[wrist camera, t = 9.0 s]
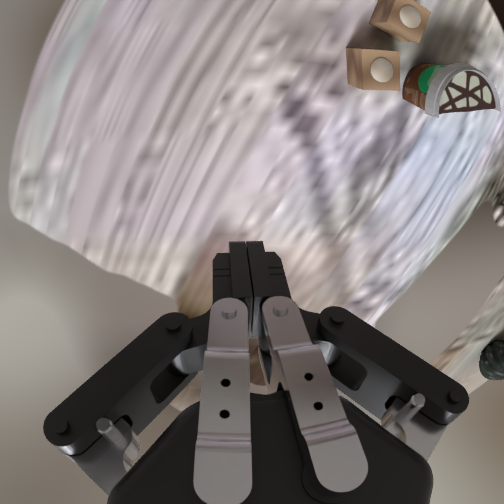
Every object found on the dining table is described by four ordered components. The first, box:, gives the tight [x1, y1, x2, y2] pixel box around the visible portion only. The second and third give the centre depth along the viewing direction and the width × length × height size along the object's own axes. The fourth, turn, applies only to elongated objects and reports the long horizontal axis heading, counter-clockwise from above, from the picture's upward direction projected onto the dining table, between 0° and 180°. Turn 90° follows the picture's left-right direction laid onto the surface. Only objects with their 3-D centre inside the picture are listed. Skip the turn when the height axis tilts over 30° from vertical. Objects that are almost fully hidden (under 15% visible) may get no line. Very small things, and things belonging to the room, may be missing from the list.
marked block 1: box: [346, 48, 400, 91], centre depth 32 cm, size 5×5×5 cm
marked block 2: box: [369, 0, 431, 43], centre depth 28 cm, size 5×5×5 cm
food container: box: [402, 63, 501, 118], centre depth 31 cm, size 12×6×10 cm, turn 105°
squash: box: [479, 340, 504, 380], centre depth 78 cm, size 14×15×15 cm
